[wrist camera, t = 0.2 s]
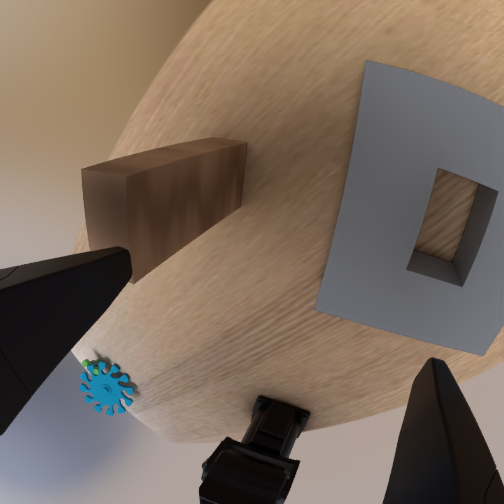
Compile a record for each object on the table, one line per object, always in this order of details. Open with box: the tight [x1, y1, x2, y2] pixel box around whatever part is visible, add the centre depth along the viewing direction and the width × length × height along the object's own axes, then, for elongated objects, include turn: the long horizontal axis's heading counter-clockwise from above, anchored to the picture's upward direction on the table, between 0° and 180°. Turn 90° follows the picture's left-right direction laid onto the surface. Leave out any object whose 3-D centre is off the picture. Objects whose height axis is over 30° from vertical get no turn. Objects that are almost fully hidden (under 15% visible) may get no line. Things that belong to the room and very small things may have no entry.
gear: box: [80, 359, 134, 416], centre depth 44 cm, size 11×6×10 cm
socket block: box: [314, 60, 504, 356], centre depth 16 cm, size 16×14×4 cm
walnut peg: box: [81, 138, 247, 284], centre depth 17 cm, size 5×3×12 cm, turn 173°
